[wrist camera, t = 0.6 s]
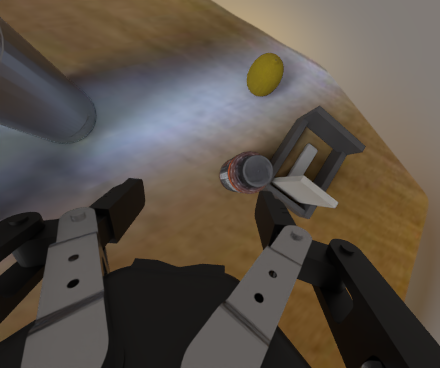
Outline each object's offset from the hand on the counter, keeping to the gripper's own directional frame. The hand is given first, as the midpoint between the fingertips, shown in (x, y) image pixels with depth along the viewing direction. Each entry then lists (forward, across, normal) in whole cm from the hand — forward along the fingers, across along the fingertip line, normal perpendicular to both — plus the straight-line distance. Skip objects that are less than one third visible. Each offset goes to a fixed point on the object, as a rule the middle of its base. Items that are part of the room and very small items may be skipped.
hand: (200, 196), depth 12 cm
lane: (+22, -17, +5) cm, 29 cm away
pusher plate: (+22, -17, +5) cm, 28 cm away
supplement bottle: (+19, -4, +7) cm, 21 cm away
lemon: (+28, -7, -8) cm, 30 cm away
